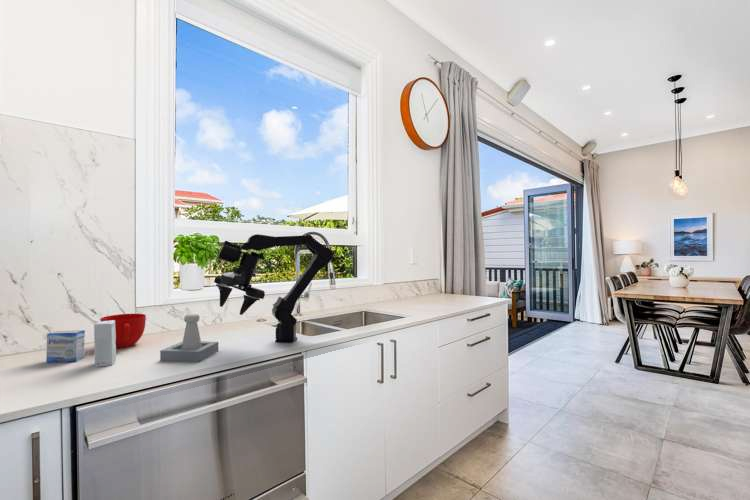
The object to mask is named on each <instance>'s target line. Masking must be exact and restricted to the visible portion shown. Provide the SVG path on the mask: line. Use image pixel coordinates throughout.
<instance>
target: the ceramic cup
mask: <svg viewBox="0 0 750 500" xmlns="http://www.w3.org/2000/svg"><path fill="white" fill-rule="evenodd" d="M146 319H147V315H146V314H143V313H119V314H112V315H111V314H110V315H107V316H103V317H101V318H100V321H110V320H115V331H116V349H125V348H130V347H134V346H135V345H136V344H137V343H138V341H140V340H141V338H142V336H143V335H144V332H145V328H146Z"/></svg>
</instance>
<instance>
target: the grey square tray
mask: <svg viewBox="0 0 750 500" xmlns="http://www.w3.org/2000/svg"><path fill="white" fill-rule="evenodd" d="M182 343H183V340H182V341H179V342H178V343H175V344H173V345H171V346H168V347H166V348H163V349H161V350H160V351H159V353H160V355H159V358H160V360H159V361H160V362H187V361H188V363H189V362H190V363H194V362H196V363H199V362H201V361H203V360H205V359H206V358H208V357H210V356H212V355H213V354H215V353H217V352H219V341H202V340H201V344H202V347H201V348H199V349H197V350H185V349H181V348H182Z"/></svg>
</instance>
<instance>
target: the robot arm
mask: <svg viewBox="0 0 750 500" xmlns="http://www.w3.org/2000/svg"><path fill="white" fill-rule="evenodd" d="M288 246H289V247H291V246H305V247H306V249H307V250H308V251H309V252H310V253H312V256H311V259H310V262H309V264H308V266H307V267H306V269H305V270H304V271H303V272H302V274H301V275H300V277H299V278H298V279H297V281H296V282H295V283H294V285H293V286H292V287H291V289H290V290H289V291H288V292H287V294H286V295H285V296H283V297H281V296H278V298H277V300H276V301H275V302H274V303H272V306H273V307H272V308H271V314H272V316H273V317H274V319H276V320H277V322H278V323H276V327H275V340H274V341H275V343H294V342H295V341H296V340H297V339H298V336H297V322H298V319H297V318H296V317H294V316H293V315H292V313H293V312H294V310H295V306H296V304H297V301H298V300H299V298H300V297H301V296H302V295H303V293H304V292H305V290H306V289H307V287H308V286H309V285H310V284H311V282H312V281H313V280H314V278H315V277H316V275H317V274H318V273H319V271H321V270H322V269H323V268H325V267H326V266H327V265H328V264H329V263H330V262H331V261H332V259H333V258H334V254H333V251H332V250H331V249H330V248H329V247H325V246H324V245H323V244H322V243H321V242H320V241H318V240H317V239H315V238H314V237H313V236H312V235H310V234H305V235H288V236H287V235H286V236H284V235H283V236H282V235H281V236H272V235H266V234H253V235H252V234H251V235H250V236H249V237H248V239H247V241H246V242H245V243H242V244H241V245H238V244H236V243H232V242H230V241H228V240H225V241H224V242H223V245H222V247H221V249H220V250H219V253H218V255H217V259H218V260H220V261H224V262H226V263H230V264H232V265H233V264H235V262H236V263H239V264H238V267H234V268H233V271H228V272H224V273H221V275H219V274H218V275H217V276H216V277H215V278H214V280H213V283H215V286H216V287H217V288H218V290H219V307H221V308H223V307H224V305H225V304H226V302H227V301H228V298H229V296H230V295H231V293H232V290H233V288H234V289H235V290H236V289H237V290H239V291H241V292H244V293H245V294H243V295H242V296H243V302H242V304H241V307H240V310H239V315H241V316H243V314H244V313H246V312H247V311H248V310H249V308H251V307H252V305H254V304H255V303H256V302H257V301H260V300H264V298H265V295H266V293H265V291H264V290H262V289H260V288H258V287H252V284H251V282H252V280H253V277H254V278H255V277H256V275H257V274H256V273H255V272H256V269H257V266H258V263H259V261H260V260H263V261H265V260H266V257H265V255H264V253H263V252H260V253H258V252H259V251H263V250H267V249H268V250H269V249H272V248H274V247H275V248H276V247H288ZM249 250H251V251H250V252H249V253H248V252H245V251H249ZM255 251H258V252H255Z"/></svg>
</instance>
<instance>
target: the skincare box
mask: <svg viewBox="0 0 750 500" xmlns="http://www.w3.org/2000/svg"><path fill="white" fill-rule="evenodd" d="M93 327H94V328H93V330H94V331H93V334H94V335H93V336H94V337H93V338H94V340H93V342H94V344H93V345H94V367H95V368H99V367H108V366H109V367H111V366H112V365H114V364H115V362H116V361H117V348H116V331H115V320H110V321H101V320H99V321H98V322H96V323H95V324H94V325H93Z"/></svg>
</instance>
